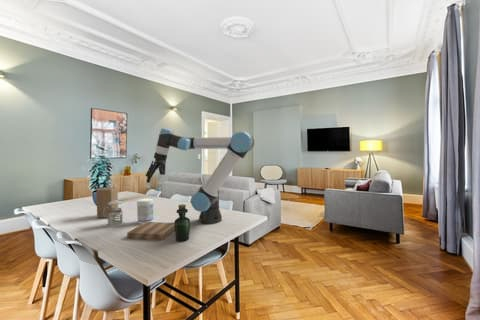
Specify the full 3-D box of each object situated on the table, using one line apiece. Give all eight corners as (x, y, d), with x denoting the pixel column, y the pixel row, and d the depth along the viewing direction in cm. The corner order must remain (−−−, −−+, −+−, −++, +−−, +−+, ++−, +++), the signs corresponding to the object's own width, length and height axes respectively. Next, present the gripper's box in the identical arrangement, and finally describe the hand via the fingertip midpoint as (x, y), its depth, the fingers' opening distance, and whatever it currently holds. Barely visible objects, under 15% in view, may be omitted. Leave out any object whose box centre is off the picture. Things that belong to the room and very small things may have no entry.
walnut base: (177, 228, 130) (177, 223, 130) (162, 240, 112) (162, 234, 112) (146, 226, 132) (145, 221, 132) (127, 238, 114) (127, 232, 114)
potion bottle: (190, 241, 110) (190, 206, 109) (174, 243, 108) (173, 207, 107) (189, 235, 118) (189, 203, 117) (174, 237, 116) (173, 204, 115)
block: (104, 214, 158) (103, 187, 158) (118, 214, 159) (118, 187, 158) (96, 218, 148) (95, 189, 148) (111, 218, 149) (111, 189, 148)
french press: (126, 224, 137) (126, 185, 136) (106, 229, 128) (105, 187, 127) (121, 220, 143) (120, 183, 142) (101, 225, 135) (100, 185, 134)
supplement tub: (154, 222, 139) (154, 200, 139) (138, 225, 134) (138, 202, 133) (151, 219, 147) (151, 197, 147) (136, 221, 142) (136, 199, 141)
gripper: (164, 151, 147) (157, 180, 149) (144, 151, 123) (136, 187, 124) (175, 154, 147) (167, 183, 148) (156, 155, 122) (148, 191, 124)
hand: (153, 185), depth 136 cm, fingers open, 13 cm apart
